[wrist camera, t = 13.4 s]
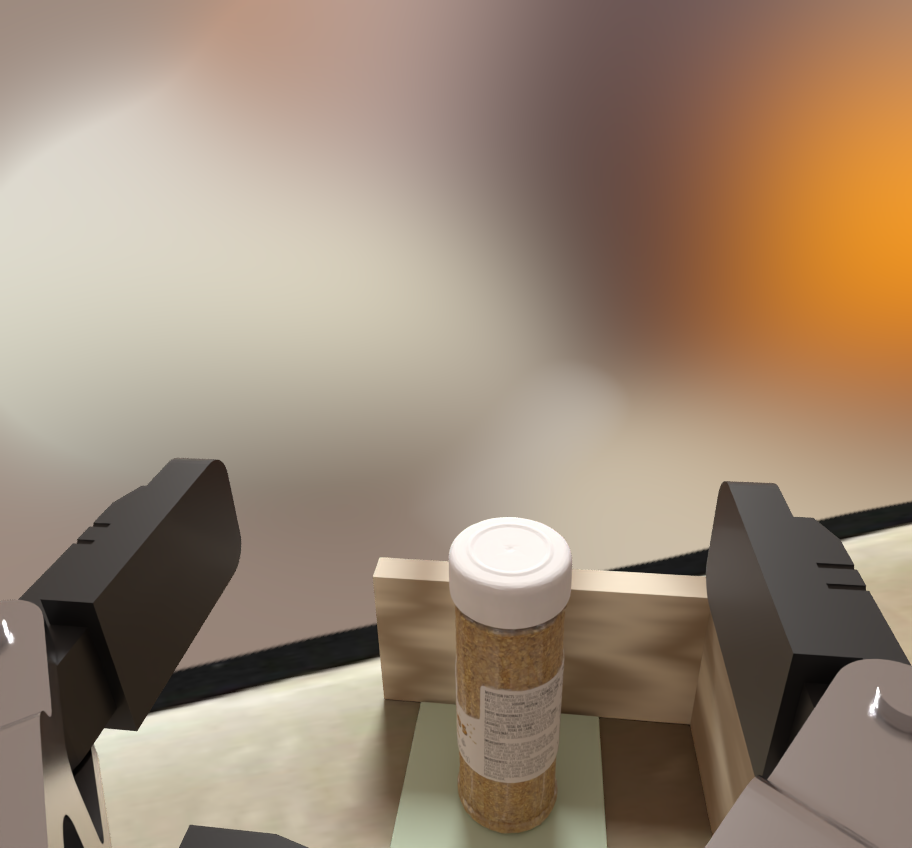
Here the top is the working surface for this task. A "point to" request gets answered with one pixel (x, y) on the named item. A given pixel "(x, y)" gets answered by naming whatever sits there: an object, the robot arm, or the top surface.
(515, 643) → the sprinkles bottle
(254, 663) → the top surface
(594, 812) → the pad
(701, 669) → the light wood l-shaped panel
